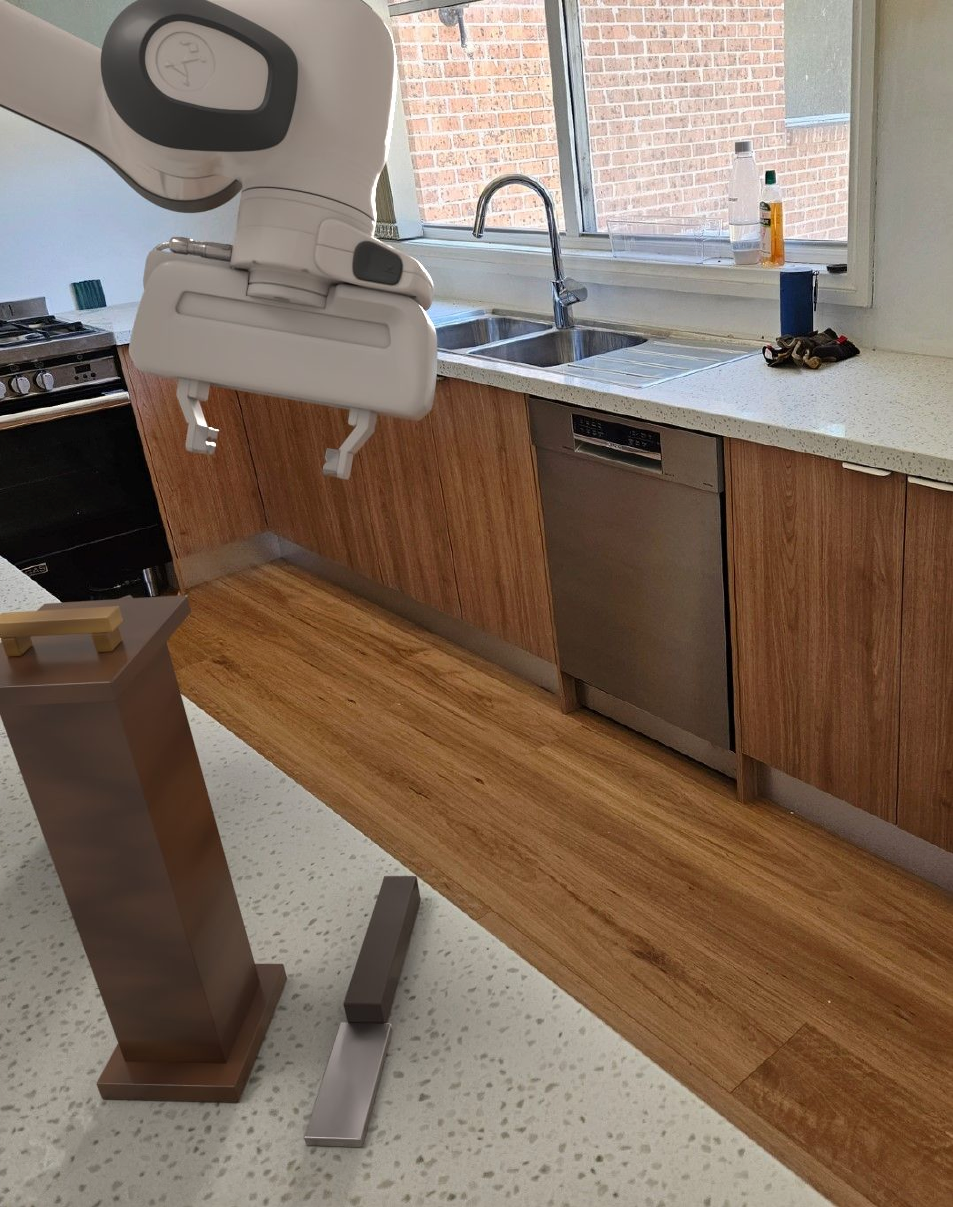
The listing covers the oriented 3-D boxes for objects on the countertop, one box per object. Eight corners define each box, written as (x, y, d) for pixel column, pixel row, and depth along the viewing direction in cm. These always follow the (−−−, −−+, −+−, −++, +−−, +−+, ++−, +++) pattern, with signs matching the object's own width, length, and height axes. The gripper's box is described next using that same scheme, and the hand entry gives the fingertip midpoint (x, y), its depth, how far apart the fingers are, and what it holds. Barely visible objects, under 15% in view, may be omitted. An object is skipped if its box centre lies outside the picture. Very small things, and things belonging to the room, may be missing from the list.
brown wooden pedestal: (101, 1099, 59) (-68, 654, 47) (165, 977, 67) (34, 571, 55) (239, 1102, 58) (99, 645, 46) (287, 978, 66) (179, 562, 54)
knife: (305, 1145, 55) (298, 1117, 54) (382, 899, 71) (378, 875, 70) (362, 1147, 54) (355, 1119, 53) (427, 899, 71) (422, 875, 70)
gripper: (130, 218, 68) (98, 434, 69) (444, 268, 66) (406, 489, 67) (169, 245, 74) (138, 442, 75) (457, 291, 73) (421, 493, 74)
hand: (267, 465), depth 71 cm, fingers open, 8 cm apart
